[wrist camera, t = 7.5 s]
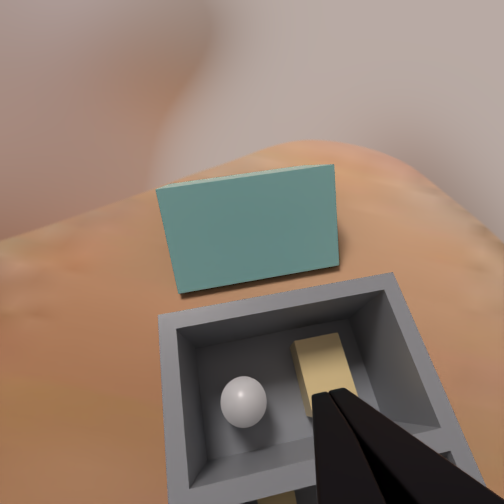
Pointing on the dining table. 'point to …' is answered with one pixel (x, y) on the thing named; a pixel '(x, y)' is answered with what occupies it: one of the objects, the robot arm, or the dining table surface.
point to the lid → (250, 225)
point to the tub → (290, 387)
